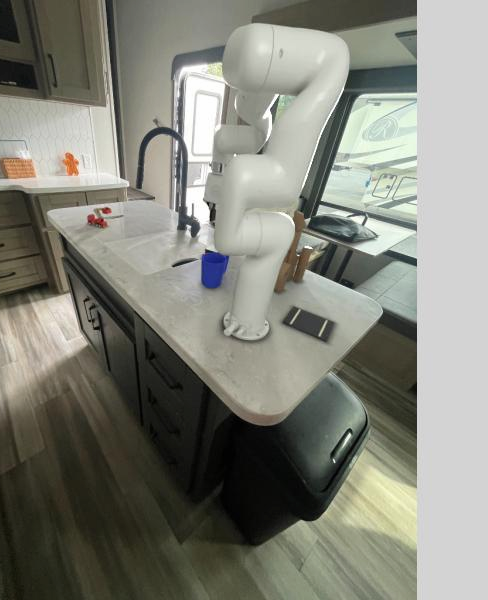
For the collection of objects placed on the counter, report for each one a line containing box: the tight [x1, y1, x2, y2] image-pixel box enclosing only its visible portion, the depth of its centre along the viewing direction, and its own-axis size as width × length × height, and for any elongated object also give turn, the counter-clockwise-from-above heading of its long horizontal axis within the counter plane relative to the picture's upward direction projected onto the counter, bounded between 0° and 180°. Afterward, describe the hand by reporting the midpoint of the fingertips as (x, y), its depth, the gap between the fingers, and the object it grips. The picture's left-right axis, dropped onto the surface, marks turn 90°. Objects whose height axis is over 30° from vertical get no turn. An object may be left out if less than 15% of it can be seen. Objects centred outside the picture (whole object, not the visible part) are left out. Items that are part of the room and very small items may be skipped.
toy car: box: [201, 245, 222, 257], centre depth 108 cm, size 8×4×6 cm
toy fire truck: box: [86, 206, 112, 228], centre depth 128 cm, size 3×14×10 cm, turn 64°
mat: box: [282, 306, 335, 342], centre depth 78 cm, size 10×12×1 cm
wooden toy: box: [273, 210, 313, 293], centre depth 89 cm, size 16×7×25 cm, turn 129°
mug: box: [200, 253, 230, 289], centre depth 90 cm, size 8×12×10 cm
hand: (216, 221), depth 101 cm, fingers closed
